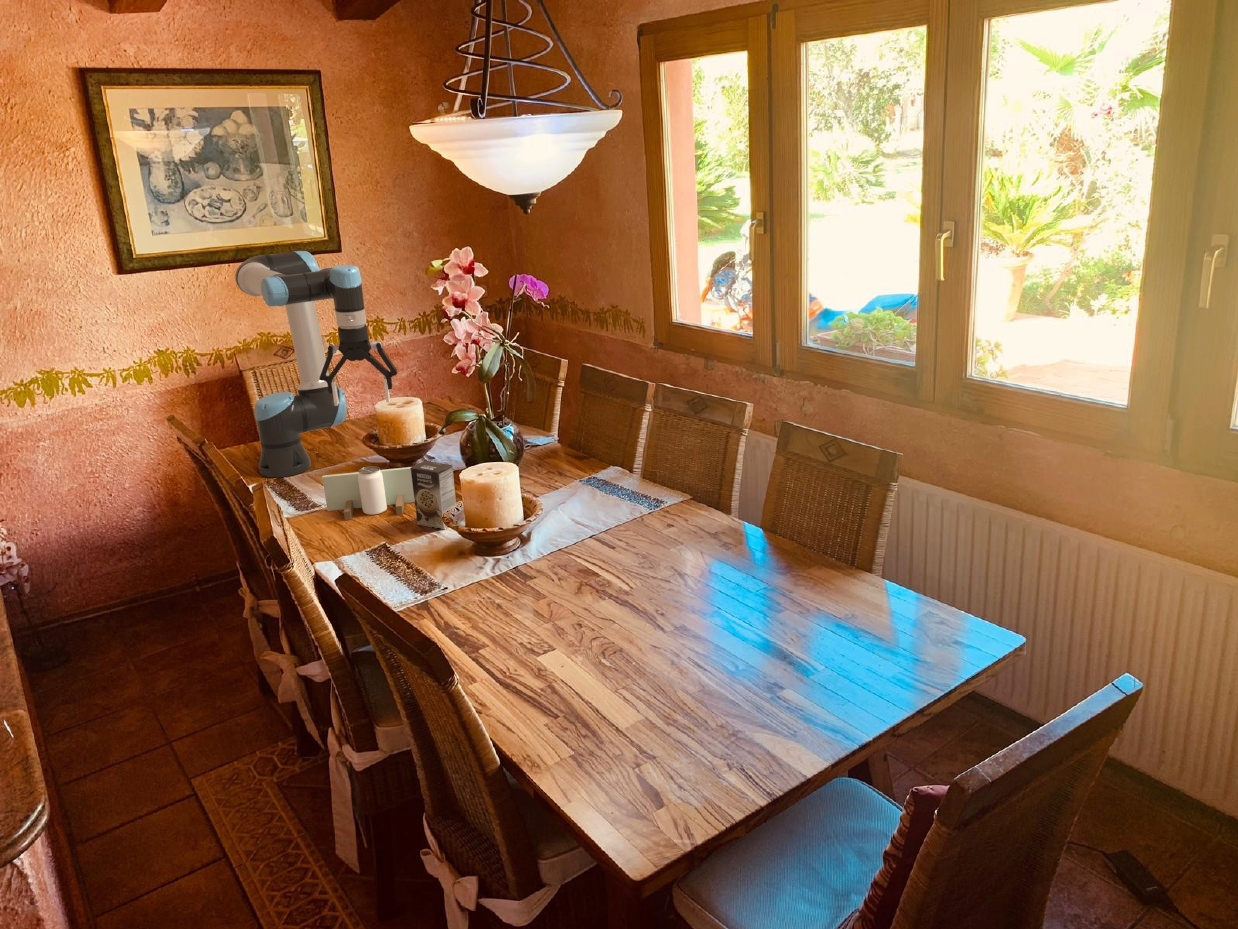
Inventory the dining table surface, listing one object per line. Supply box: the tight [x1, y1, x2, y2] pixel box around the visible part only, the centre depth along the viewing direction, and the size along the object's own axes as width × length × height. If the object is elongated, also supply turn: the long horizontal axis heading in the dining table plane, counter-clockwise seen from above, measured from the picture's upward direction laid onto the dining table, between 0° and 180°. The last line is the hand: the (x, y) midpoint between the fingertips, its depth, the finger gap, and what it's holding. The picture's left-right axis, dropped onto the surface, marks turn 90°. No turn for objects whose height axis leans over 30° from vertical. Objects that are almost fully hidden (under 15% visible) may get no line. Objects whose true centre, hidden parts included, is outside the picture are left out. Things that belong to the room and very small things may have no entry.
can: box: [357, 465, 388, 516], centre depth 250 cm, size 6×6×12 cm
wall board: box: [321, 466, 415, 521], centre depth 250 cm, size 9×26×10 cm, turn 100°
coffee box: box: [410, 460, 457, 530], centre depth 239 cm, size 9×6×16 cm
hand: (362, 402), depth 251 cm, fingers open, 13 cm apart
